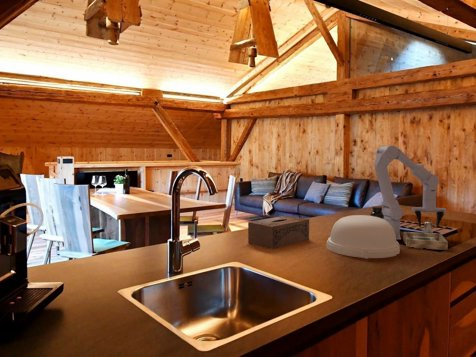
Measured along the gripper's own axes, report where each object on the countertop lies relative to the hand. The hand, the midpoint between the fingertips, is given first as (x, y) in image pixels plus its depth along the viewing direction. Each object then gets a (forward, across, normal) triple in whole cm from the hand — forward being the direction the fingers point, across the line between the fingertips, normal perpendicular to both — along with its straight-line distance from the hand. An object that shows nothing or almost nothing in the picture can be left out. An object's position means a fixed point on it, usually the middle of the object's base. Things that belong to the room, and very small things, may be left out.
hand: (428, 226), depth 197 cm
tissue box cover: (+5, -67, -30) cm, 74 cm away
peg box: (+5, -4, -17) cm, 18 cm away
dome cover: (+5, -30, -32) cm, 45 cm away
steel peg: (+5, 0, 0) cm, 5 cm away
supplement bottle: (+5, -23, +11) cm, 26 cm away
